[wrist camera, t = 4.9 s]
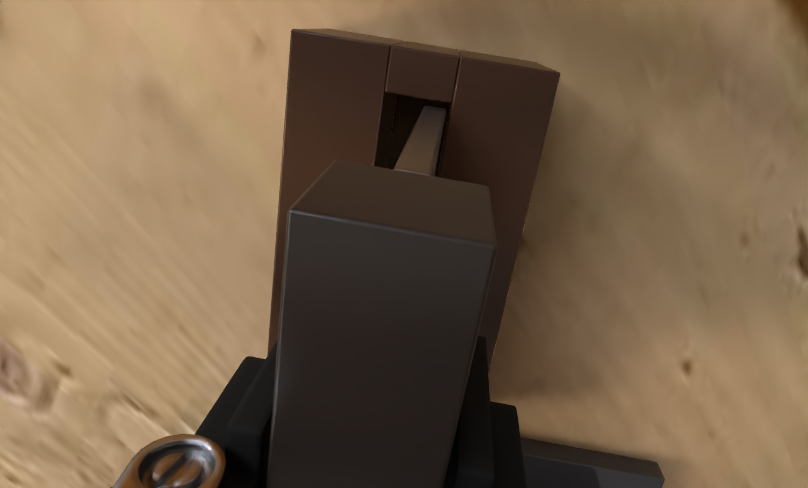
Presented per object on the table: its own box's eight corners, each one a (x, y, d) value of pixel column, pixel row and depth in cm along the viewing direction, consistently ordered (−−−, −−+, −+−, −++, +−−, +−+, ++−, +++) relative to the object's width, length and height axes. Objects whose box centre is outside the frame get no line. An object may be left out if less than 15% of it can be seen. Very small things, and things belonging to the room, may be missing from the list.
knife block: (327, 28, 19) (290, 28, 15) (537, 62, 19) (561, 72, 15) (294, 371, 24) (260, 445, 20) (461, 401, 24) (462, 482, 19)
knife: (390, 99, 15) (285, 208, 6) (480, 114, 15) (499, 245, 6) (348, 404, 19) (246, 739, 10) (420, 418, 19) (379, 767, 10)
